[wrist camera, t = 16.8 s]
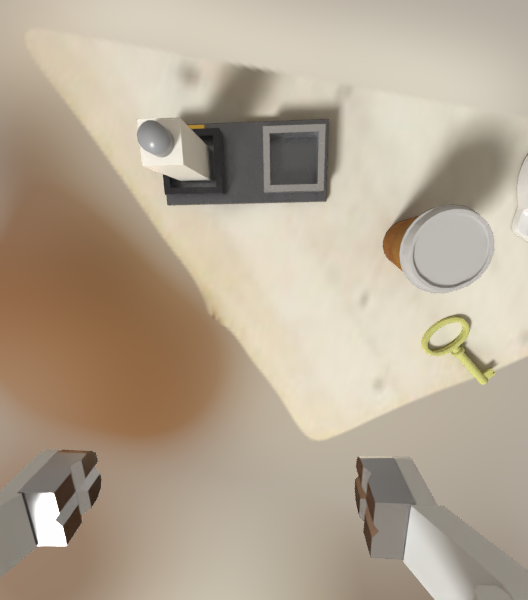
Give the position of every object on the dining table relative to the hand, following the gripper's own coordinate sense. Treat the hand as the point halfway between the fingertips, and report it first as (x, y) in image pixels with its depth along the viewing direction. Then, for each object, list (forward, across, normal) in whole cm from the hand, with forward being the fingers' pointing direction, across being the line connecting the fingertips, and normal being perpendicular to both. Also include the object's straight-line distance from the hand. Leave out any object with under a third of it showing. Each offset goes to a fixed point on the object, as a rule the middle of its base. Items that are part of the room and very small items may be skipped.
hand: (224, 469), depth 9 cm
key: (+38, -29, +13) cm, 49 cm away
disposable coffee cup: (+37, -20, -4) cm, 42 cm away
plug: (+36, +9, -15) cm, 40 cm away
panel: (+37, +3, -15) cm, 40 cm away
